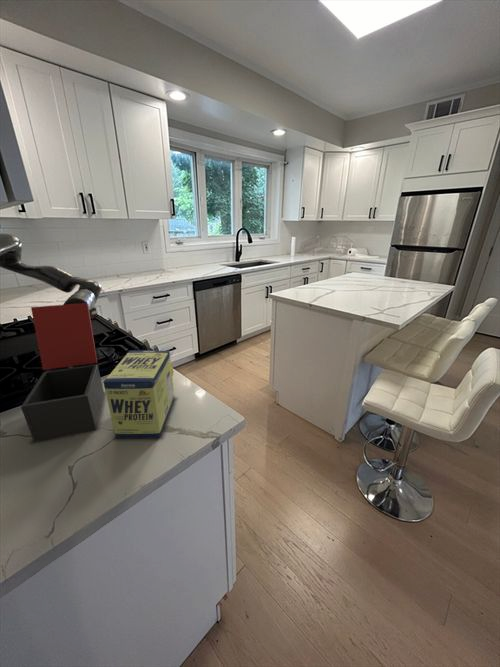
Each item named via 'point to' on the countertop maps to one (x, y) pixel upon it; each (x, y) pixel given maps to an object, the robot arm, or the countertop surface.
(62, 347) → the lid
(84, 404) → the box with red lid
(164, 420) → the protein box
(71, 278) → the robot arm
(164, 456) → the countertop surface
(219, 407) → the countertop surface
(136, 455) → the countertop surface
